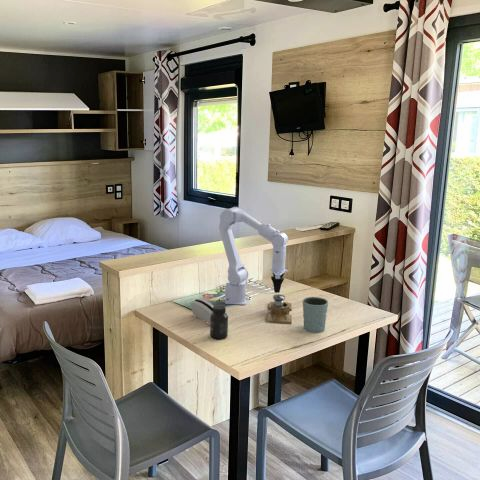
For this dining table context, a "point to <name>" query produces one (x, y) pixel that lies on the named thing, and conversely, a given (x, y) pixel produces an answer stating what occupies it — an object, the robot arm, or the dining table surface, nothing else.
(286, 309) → the hinge leaves
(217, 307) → the supplement bottle
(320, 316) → the teal cup
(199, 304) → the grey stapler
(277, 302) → the pin
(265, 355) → the dining table surface
